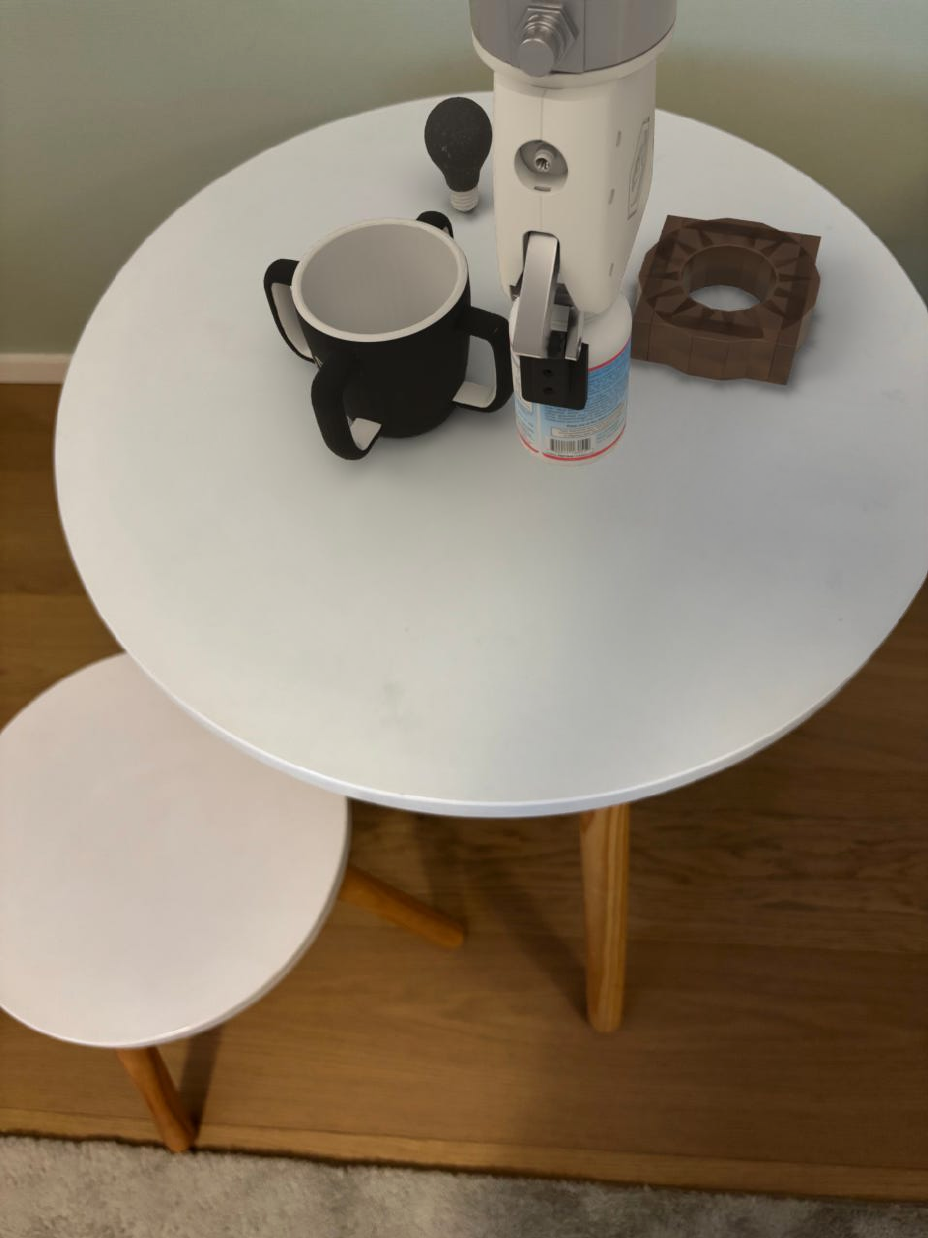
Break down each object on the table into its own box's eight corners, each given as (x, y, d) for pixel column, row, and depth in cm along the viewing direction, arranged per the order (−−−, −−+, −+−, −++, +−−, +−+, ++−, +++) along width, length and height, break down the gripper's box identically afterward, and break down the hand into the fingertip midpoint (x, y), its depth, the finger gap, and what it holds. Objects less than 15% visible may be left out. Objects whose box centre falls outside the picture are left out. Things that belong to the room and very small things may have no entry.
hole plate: (820, 272, 84) (831, 231, 80) (793, 393, 77) (804, 354, 74) (657, 248, 87) (661, 207, 83) (618, 362, 80) (621, 324, 77)
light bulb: (431, 192, 93) (417, 86, 84) (493, 184, 92) (486, 77, 84) (436, 233, 90) (422, 128, 81) (500, 225, 90) (493, 119, 81)
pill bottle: (644, 409, 58) (659, 245, 48) (593, 487, 55) (598, 330, 46) (549, 373, 60) (545, 209, 50) (496, 446, 57) (481, 288, 48)
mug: (285, 348, 84) (246, 226, 74) (475, 301, 85) (463, 174, 75) (320, 503, 76) (282, 389, 66) (531, 449, 77) (526, 328, 66)
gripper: (622, 149, 32) (605, 498, 48) (720, -128, 40) (678, 247, 56) (397, 124, 34) (451, 469, 50) (534, -137, 42) (543, 230, 58)
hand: (571, 349), depth 53 cm, fingers closed on pill bottle, 6 cm apart
